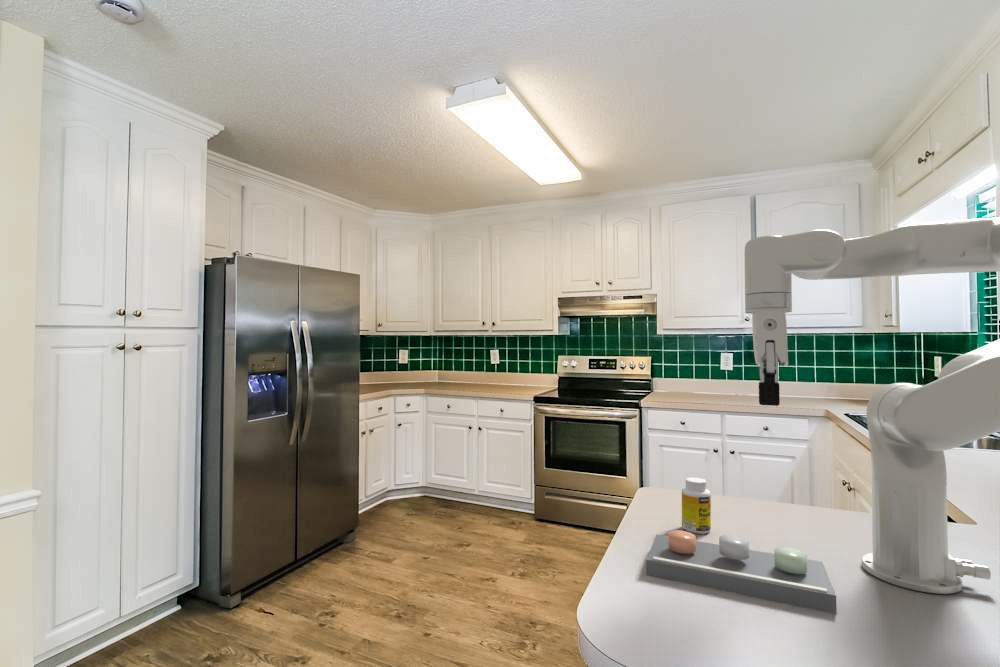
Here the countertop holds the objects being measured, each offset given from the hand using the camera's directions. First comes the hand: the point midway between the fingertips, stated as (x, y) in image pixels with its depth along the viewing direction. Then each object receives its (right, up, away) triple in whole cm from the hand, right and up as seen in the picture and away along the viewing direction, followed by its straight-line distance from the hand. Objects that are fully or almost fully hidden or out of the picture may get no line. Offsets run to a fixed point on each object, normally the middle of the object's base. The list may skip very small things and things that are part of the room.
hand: (769, 404), depth 88 cm
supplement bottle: (-9, -28, +11) cm, 31 cm away
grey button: (-11, -23, -9) cm, 27 cm away
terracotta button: (-18, -24, -5) cm, 30 cm away
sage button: (-4, -24, -12) cm, 27 cm away
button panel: (-11, -27, -9) cm, 30 cm away
